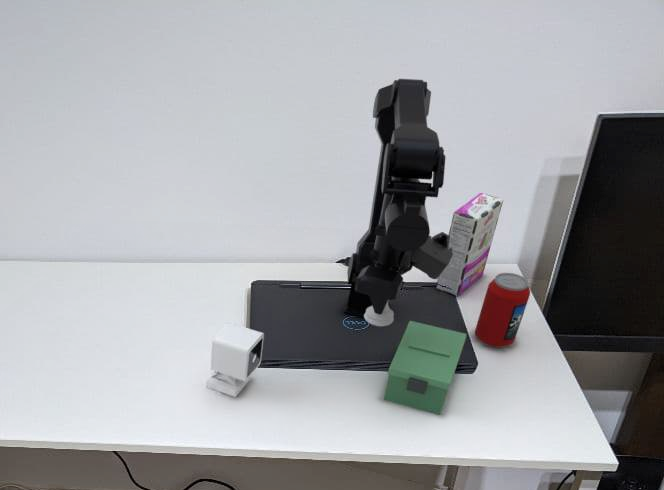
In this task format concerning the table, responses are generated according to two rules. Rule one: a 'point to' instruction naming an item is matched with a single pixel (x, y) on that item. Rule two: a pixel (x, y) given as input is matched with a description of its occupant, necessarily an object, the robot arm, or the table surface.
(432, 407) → the box
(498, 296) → the beverage can
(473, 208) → the candy bar box
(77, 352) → the table surface
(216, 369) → the security camera
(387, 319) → the chess piece
